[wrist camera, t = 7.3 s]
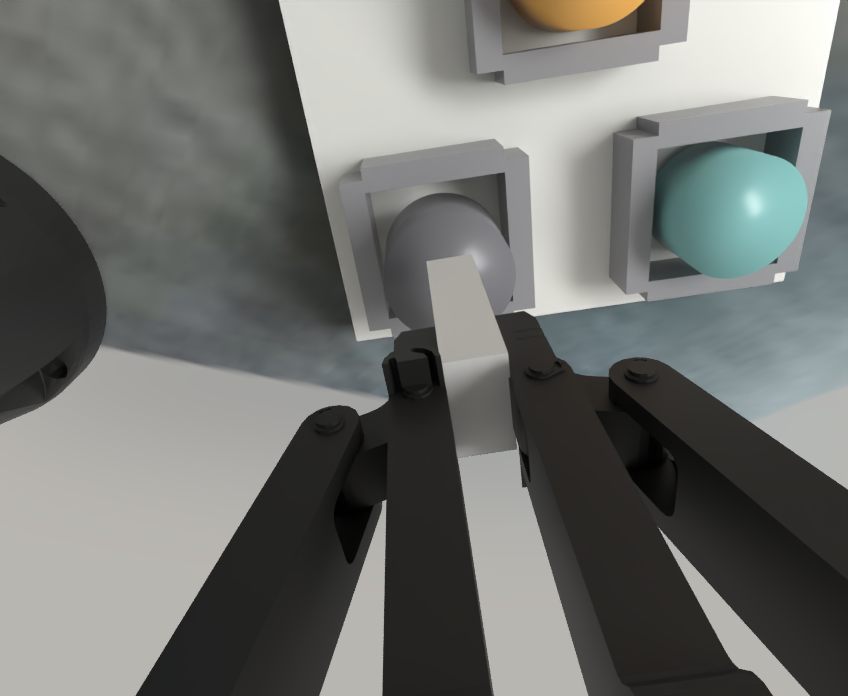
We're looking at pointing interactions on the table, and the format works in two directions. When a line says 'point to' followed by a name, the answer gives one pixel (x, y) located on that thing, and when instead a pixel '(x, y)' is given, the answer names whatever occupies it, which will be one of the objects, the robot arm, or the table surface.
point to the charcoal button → (443, 254)
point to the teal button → (727, 208)
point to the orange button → (573, 13)
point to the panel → (549, 131)
